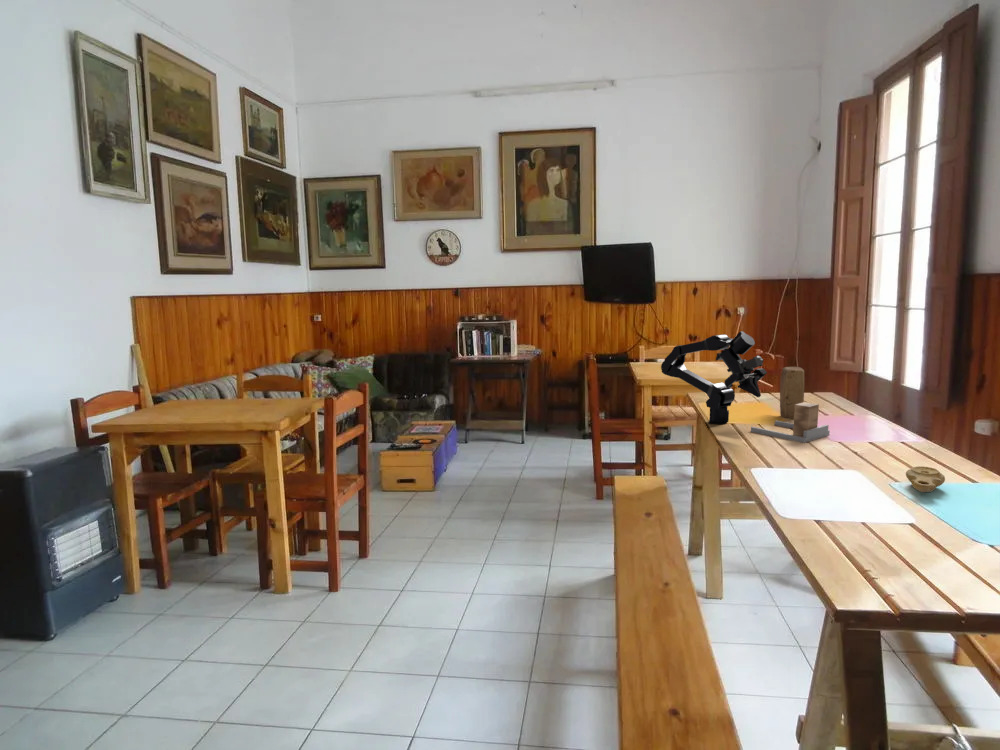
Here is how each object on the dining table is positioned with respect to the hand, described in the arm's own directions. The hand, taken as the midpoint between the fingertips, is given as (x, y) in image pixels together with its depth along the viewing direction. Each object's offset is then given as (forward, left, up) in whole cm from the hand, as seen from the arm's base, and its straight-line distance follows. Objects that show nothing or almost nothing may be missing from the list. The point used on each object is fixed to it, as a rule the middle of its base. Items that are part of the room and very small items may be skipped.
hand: (759, 396), depth 226 cm
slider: (+15, -9, -11) cm, 21 cm away
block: (+12, +25, -13) cm, 31 cm away
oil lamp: (+40, -53, -13) cm, 67 cm away
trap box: (+10, -6, -13) cm, 17 cm away
